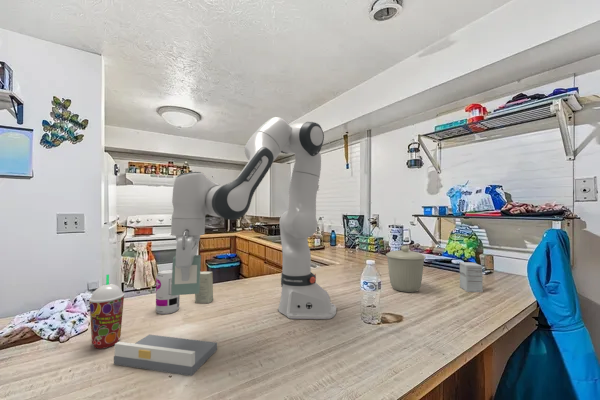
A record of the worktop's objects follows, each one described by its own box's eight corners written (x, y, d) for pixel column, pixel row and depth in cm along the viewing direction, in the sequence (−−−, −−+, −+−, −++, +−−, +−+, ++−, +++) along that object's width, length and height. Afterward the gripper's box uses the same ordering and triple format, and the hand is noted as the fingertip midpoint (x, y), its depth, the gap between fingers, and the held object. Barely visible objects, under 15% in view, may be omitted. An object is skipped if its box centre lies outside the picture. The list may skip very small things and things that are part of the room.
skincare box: (213, 300, 116) (213, 271, 117) (208, 303, 112) (209, 273, 112) (198, 299, 117) (199, 270, 117) (194, 303, 113) (194, 273, 113)
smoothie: (96, 354, 73) (97, 280, 74) (82, 346, 78) (84, 275, 78) (129, 341, 80) (130, 273, 81) (115, 334, 85) (116, 270, 85)
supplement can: (155, 316, 99) (156, 274, 99) (155, 308, 106) (156, 270, 107) (179, 312, 103) (180, 272, 103) (178, 305, 110) (179, 268, 110)
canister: (432, 295, 123) (432, 248, 124) (392, 295, 124) (392, 248, 124) (416, 284, 142) (416, 243, 142) (381, 283, 142) (381, 243, 142)
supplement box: (459, 287, 136) (459, 261, 136) (475, 287, 135) (475, 262, 135) (466, 291, 129) (465, 265, 129) (483, 292, 128) (482, 265, 128)
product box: (198, 293, 76) (200, 257, 76) (171, 295, 74) (172, 258, 74) (199, 289, 80) (200, 254, 80) (173, 290, 78) (175, 255, 78)
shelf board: (217, 349, 76) (217, 331, 76) (191, 376, 64) (191, 354, 64) (149, 341, 81) (149, 324, 81) (113, 364, 69) (113, 344, 69)
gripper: (197, 231, 68) (195, 287, 68) (202, 226, 88) (200, 269, 87) (170, 231, 66) (167, 289, 66) (180, 226, 86) (179, 270, 86)
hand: (186, 277), depth 77 cm, fingers closed on product box, 4 cm apart
